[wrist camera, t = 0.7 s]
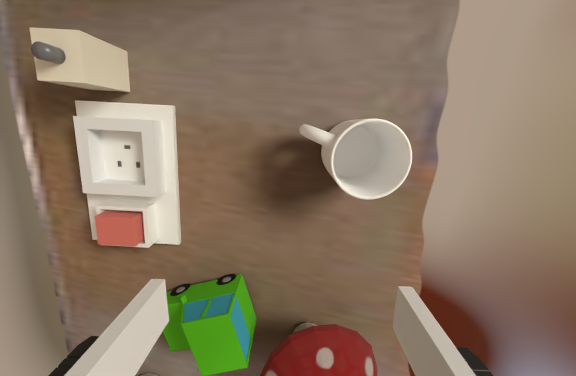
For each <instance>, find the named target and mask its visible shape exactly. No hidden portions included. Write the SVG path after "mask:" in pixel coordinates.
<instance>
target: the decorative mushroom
mask: <svg viewBox="0 0 576 376" xmlns="http://www.w3.org/2000/svg"><path fill="white" fill-rule="evenodd" d="M260 376H377V365H376V362H375V358H374V354H373V351H372V347H371V345H370V344H369V343H368V342H367V341H366V340H365V339H364V338H363V337H362V336H361V335H360V334H359V333H358V332H357V331H354V330H351V329H348V328H345V327H342V326H339V325H335V324H333V325H319V326H318V325H316V324H313V323H302V324H300V325H298V326H297V327H296V328H295V329H294V331H293V334H290V335H289V336H288V337H287V338H286V339H285V340H284V341H283V342H282V343H281V344H280V345H279V346H278V347H277V348H276V349H275V350H274V351H273V352H272V353H271V354H270V357H269V359H268V361H267V363H266V365H265V367H264V369H263V371H262V373H261V375H260Z"/></svg>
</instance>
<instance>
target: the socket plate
mask: <svg viewBox="0 0 576 376" xmlns="http://www.w3.org/2000/svg"><path fill="white" fill-rule="evenodd" d="M75 106H76V114H77V116H73V120H74V128H75V136H76V143H77V151H78V158H79V166H80V174H81V181H82V189H83V193H87V200H88V208H89V215H90V223H91V231H92V239H93V240H97V232H96V224H95V216H96V215H98V214H100V213H102V212H104V211H111V212H129V213H141V214H142V227H143V239H144V240H143V241H142V242H141V243H139V244H138V245H137V246H128V247H146V248H149V247H150V246H151V245H153V244H154V243H158V244H175V245H179V244H180V243H181V230H180V208H179V185H178V162H177V139H176V116H175V106H168V105H150V104H132V103H114V102H96V101H78V100H75ZM111 246H117V245H111Z"/></svg>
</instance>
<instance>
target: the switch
mask: <svg viewBox="0 0 576 376" xmlns="http://www.w3.org/2000/svg"><path fill="white" fill-rule="evenodd" d="M95 224H96V232H97V240H98V244H100V245H117V246H137V245H138V244H139V243H141V242H142V241H143V240H144V239H143V227H142V214H141V213H129V212H111V211H104V212H102V213H100V214H98V215H96V216H95Z"/></svg>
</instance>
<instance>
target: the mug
mask: <svg viewBox="0 0 576 376" xmlns="http://www.w3.org/2000/svg"><path fill="white" fill-rule="evenodd" d="M299 132H300V134H301V135H303V136H304V137H306V138H308V139H310V140H312V141H314V142H316V143H318V144H321V145H322V149H321V156H322V161H323V164H324V166H325V168H326V170H327V171H328V172H329V174H330V175H331V176H332V178H333V179H334V180H335V182H336V183H337V184H338V185H339V187H340V188H341V189H342V190H343V191H345V192H346V193H347V194H349V195H351V196H353V197H356V198H360V199H377V198H381V197H384V196H386V195H388V194H390V193H392V192H393V191H394V190H396V189H397V188H398V187H399V186H400V185H401V184H402V183H403V181H404V180H405V178H406V177H407V175H408V173H409V170H410V167H411V163H412V151H411V146H410V143H409V140H408V138H407V137H406V135H405V134H404V132H403V131H402V130H401V129H400V128H399V127H397V126H396V125H395V124H393V123H391V122H389V121H386V120H382V119H361V120H350V121H345V122H342V123H340V124H338V125H336V126H335V127H333V128H332V129H331V130H330V131H329V132H326V131H324V130H321V129H318V128H315V127H313V126H310V125H306V124H304V125H302V126H300V128H299Z"/></svg>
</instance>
